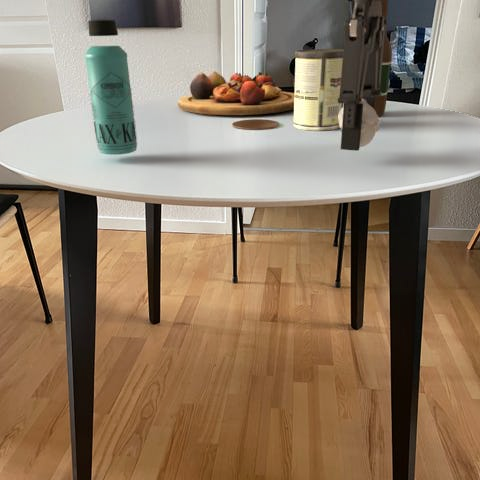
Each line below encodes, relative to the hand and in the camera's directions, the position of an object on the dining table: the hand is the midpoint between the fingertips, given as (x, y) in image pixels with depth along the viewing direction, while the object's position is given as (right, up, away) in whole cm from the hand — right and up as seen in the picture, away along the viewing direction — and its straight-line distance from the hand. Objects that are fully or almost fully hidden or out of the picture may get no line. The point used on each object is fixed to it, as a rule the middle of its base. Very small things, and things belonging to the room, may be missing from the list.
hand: (356, 144), depth 79 cm
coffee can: (-2, +13, +26) cm, 29 cm away
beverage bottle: (-38, -1, +4) cm, 39 cm away
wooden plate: (-18, +27, +50) cm, 60 cm away
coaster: (-15, +14, +28) cm, 35 cm away
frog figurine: (0, 0, 0) cm, 1 cm away
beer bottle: (+11, +20, +37) cm, 44 cm away
